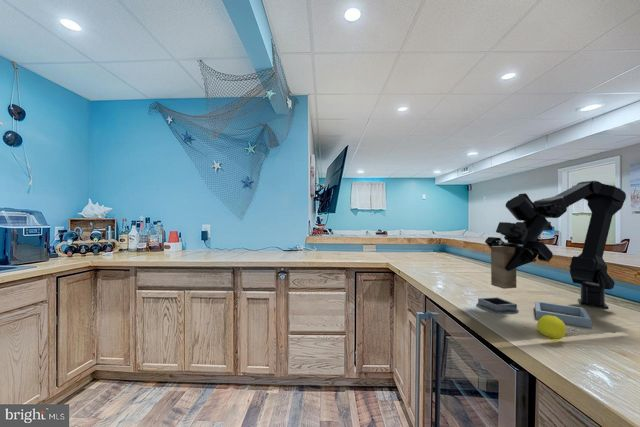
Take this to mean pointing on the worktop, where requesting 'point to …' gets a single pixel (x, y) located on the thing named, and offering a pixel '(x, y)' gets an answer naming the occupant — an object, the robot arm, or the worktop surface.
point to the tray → (569, 319)
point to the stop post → (502, 267)
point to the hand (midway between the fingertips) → (499, 268)
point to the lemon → (551, 327)
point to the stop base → (497, 305)
